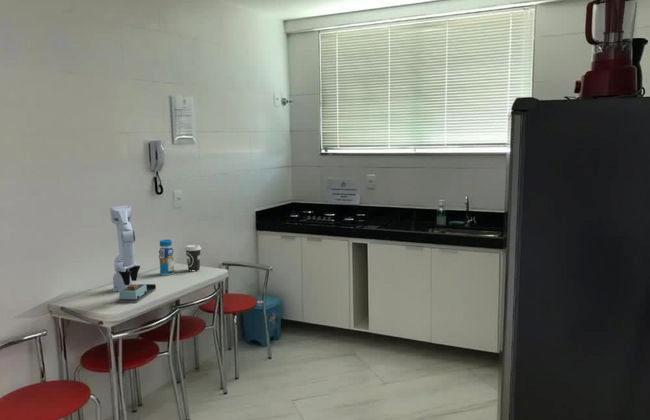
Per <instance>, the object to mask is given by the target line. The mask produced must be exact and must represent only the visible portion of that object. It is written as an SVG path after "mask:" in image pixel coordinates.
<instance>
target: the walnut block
mask: <svg viewBox="0 0 650 420" xmlns="http://www.w3.org/2000/svg"><path fill="white" fill-rule="evenodd" d="M137 289H139V286H138V285H129V286H127V291H135V290H137Z"/></svg>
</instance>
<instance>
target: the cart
mask: <svg viewBox="0 0 650 420" xmlns="http://www.w3.org/2000/svg"><path fill="white" fill-rule="evenodd" d="M146 284H147V283H133V284H130V285H138V286H139V289H137V290H135V291H127V287H125V288H123V289H122V290H120V291H118V292H119V293H118V294H119V299H137V298H140V296H142V295H143V294H145V293H147V287H146Z"/></svg>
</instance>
